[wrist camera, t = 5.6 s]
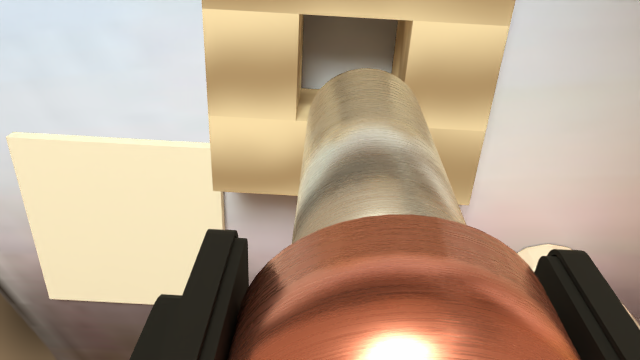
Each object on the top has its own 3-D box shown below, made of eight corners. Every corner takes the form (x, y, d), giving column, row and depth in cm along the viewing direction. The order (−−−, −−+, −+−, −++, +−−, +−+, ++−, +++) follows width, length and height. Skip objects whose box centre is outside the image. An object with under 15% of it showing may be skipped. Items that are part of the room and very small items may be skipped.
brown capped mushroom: (286, 39, 16) (182, 345, 5) (458, 49, 16) (713, 377, 5) (283, 187, 19) (211, 593, 8) (430, 196, 19) (560, 612, 8)
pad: (13, 132, 32) (5, 137, 31) (220, 143, 32) (218, 149, 31) (55, 291, 38) (49, 298, 37) (228, 300, 38) (226, 308, 37)
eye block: (219, -102, 25) (195, -103, 21) (499, -86, 25) (534, -83, 21) (229, 151, 32) (212, 191, 28) (450, 163, 32) (468, 205, 28)
